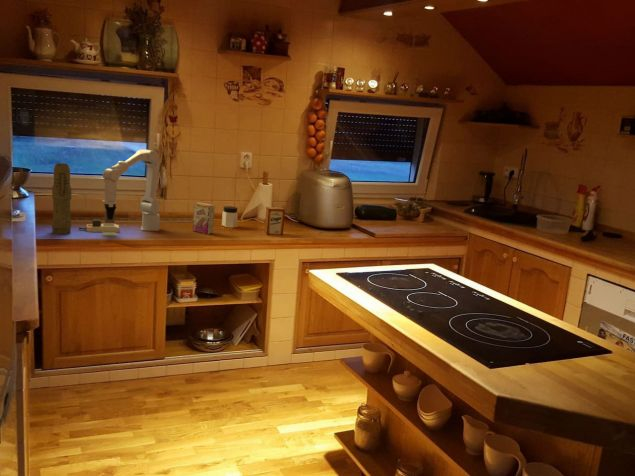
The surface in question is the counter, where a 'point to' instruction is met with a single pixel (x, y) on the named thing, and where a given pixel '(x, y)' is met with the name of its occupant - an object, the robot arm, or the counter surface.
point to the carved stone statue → (61, 199)
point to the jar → (229, 216)
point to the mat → (109, 234)
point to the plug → (96, 222)
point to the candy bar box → (203, 218)
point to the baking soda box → (274, 220)
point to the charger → (107, 218)
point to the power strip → (101, 228)
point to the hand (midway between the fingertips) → (109, 218)
